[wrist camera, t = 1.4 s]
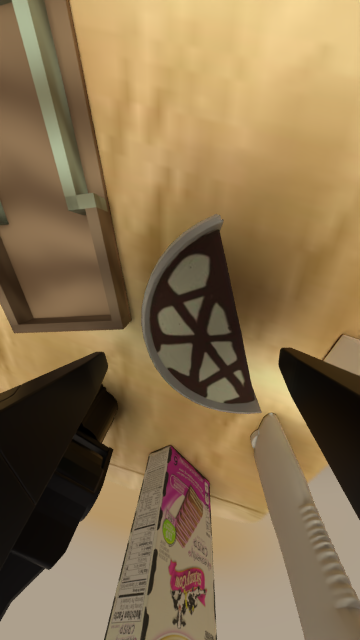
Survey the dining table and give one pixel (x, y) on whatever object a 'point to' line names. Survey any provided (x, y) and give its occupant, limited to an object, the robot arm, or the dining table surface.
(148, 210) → the dining table surface
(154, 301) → the food container
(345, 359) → the milk carton
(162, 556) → the candy bar box
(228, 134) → the dining table surface
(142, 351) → the dining table surface
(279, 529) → the light grey flat bottle
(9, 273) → the green flat tray
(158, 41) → the dining table surface
